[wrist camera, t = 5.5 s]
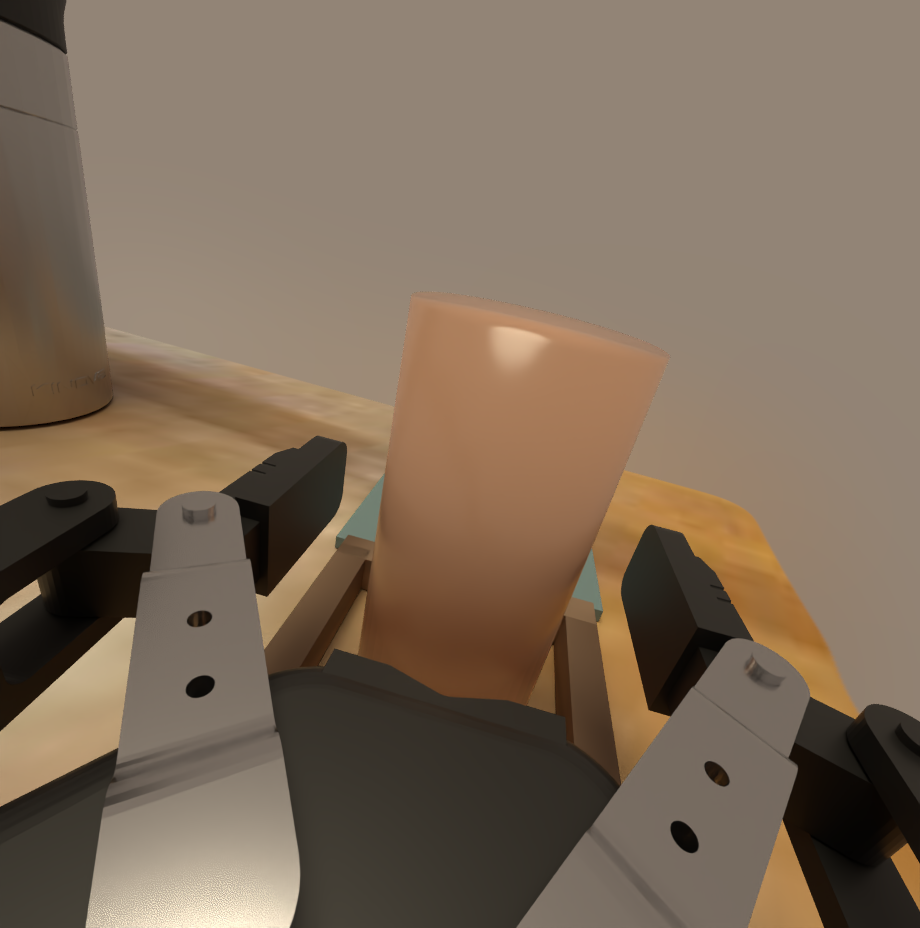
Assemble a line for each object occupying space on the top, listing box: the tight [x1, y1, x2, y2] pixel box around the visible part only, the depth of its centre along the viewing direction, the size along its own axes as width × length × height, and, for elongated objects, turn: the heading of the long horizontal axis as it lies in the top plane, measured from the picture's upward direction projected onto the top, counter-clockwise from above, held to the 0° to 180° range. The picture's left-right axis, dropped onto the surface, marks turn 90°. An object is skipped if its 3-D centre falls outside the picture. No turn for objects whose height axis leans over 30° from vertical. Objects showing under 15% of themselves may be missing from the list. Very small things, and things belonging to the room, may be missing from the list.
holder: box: [264, 535, 621, 786], centre depth 14 cm, size 10×10×2 cm
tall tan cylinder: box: [358, 292, 670, 706], centre depth 12 cm, size 5×5×12 cm
